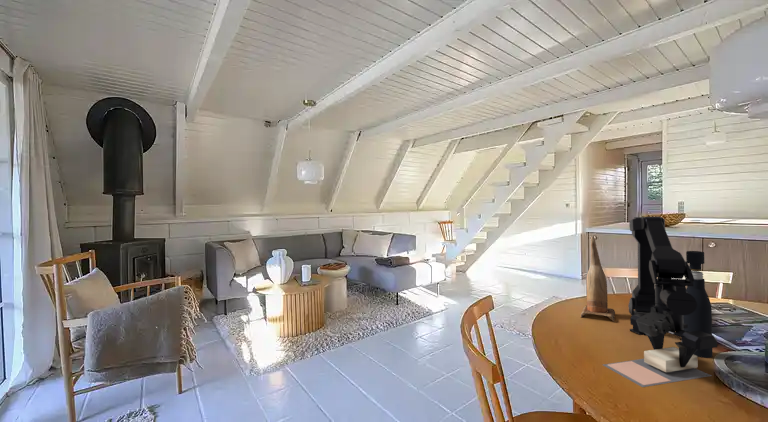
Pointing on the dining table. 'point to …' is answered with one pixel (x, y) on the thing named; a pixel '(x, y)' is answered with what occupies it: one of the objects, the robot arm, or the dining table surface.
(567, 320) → the dining table surface
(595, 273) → the brown tall tapered piece
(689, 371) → the mat
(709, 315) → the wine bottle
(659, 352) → the block
